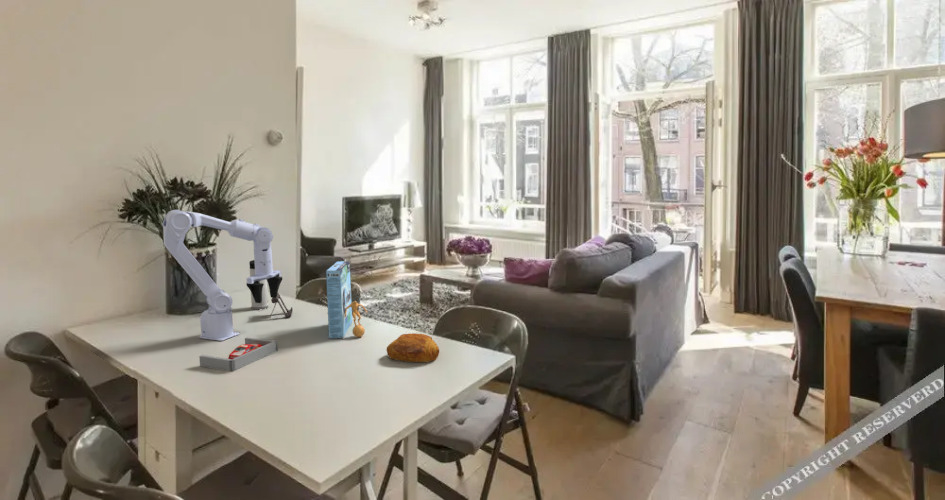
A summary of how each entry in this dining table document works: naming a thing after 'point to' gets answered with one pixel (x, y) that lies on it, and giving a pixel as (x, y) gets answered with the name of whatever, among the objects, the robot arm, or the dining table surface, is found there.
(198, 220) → the robot arm
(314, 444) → the dining table surface
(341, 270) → the blue product box
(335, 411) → the dining table surface
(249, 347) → the race car
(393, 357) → the croissant
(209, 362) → the grey u-shaped wall
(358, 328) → the figurine
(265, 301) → the travel mug
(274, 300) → the portable electronic device stand
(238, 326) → the dining table surface
